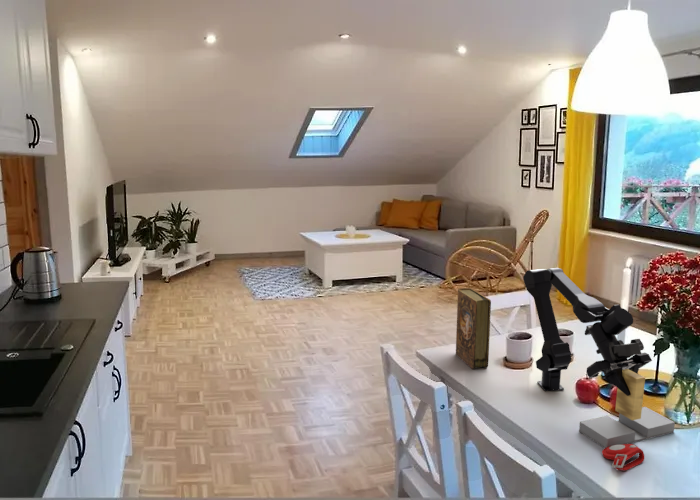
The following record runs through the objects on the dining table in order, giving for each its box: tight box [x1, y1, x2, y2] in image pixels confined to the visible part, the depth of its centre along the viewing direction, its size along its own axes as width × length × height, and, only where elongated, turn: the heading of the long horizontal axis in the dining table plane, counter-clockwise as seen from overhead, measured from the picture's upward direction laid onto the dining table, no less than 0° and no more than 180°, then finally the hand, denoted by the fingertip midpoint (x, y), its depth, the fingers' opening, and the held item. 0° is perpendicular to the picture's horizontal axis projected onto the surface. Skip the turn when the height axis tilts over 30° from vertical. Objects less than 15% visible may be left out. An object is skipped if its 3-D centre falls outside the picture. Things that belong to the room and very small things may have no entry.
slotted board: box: [578, 406, 676, 449], centre depth 163 cm, size 10×24×3 cm, turn 111°
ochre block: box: [614, 369, 646, 420], centre depth 161 cm, size 6×3×12 cm, turn 21°
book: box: [455, 287, 492, 370], centre depth 211 cm, size 16×6×25 cm, turn 14°
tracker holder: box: [601, 443, 645, 471], centre depth 149 cm, size 12×4×10 cm
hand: (634, 394), depth 160 cm, fingers closed on ochre block, 3 cm apart
